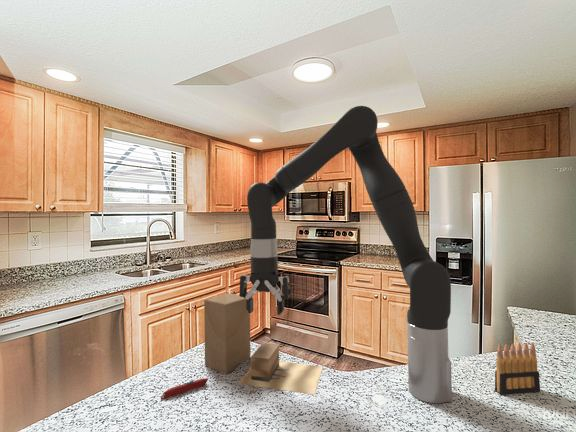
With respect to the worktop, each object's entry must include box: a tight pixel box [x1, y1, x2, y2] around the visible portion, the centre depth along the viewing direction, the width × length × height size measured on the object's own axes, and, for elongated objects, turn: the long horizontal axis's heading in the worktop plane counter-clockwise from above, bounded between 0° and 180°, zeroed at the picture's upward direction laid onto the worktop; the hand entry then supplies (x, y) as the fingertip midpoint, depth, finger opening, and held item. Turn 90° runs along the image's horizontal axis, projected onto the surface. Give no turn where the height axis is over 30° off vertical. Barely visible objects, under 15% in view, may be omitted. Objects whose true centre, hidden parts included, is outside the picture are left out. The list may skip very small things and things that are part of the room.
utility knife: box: [160, 378, 209, 400], centre depth 76 cm, size 12×1×2 cm, turn 124°
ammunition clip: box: [494, 342, 541, 396], centre depth 74 cm, size 11×2×12 cm, turn 95°
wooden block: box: [203, 293, 251, 375], centre depth 91 cm, size 10×10×20 cm
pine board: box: [238, 360, 324, 395], centre depth 81 cm, size 20×14×2 cm
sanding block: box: [250, 342, 280, 382], centre depth 82 cm, size 5×9×6 cm, turn 165°
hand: (265, 313), depth 83 cm, fingers open, 8 cm apart
